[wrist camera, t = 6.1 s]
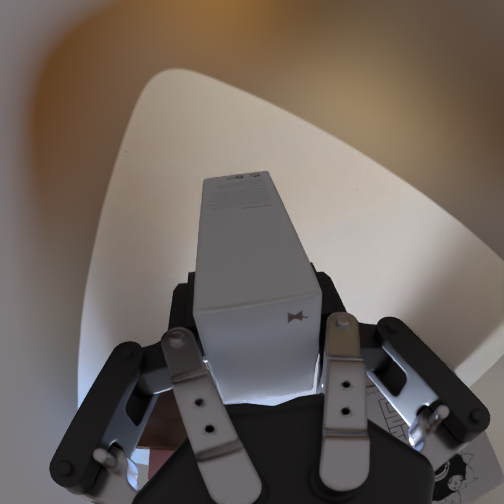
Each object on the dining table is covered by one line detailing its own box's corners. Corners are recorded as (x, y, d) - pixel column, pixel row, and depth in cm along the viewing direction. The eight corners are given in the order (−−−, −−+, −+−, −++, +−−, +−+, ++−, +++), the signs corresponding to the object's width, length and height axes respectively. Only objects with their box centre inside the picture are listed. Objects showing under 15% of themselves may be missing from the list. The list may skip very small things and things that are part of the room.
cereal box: (328, 415, 45) (361, 548, 25) (335, 393, 41) (376, 546, 20) (435, 386, 46) (481, 494, 25) (450, 362, 42) (506, 480, 21)
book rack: (166, 445, 48) (164, 487, 41) (125, 385, 36) (116, 444, 29) (229, 444, 49) (232, 487, 41) (213, 384, 37) (215, 447, 29)
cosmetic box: (201, 177, 19) (188, 309, 9) (268, 169, 19) (328, 290, 9) (215, 257, 22) (221, 406, 12) (273, 249, 23) (316, 392, 13)
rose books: (185, 448, 47) (185, 506, 37) (154, 396, 36) (147, 478, 26) (207, 448, 47) (209, 506, 37) (184, 396, 36) (182, 480, 26)
